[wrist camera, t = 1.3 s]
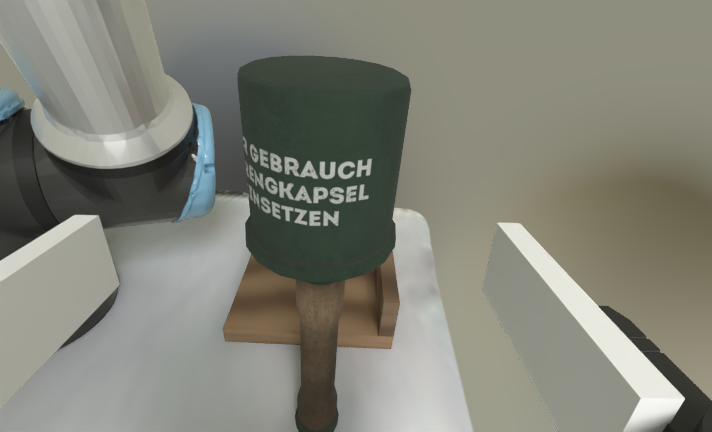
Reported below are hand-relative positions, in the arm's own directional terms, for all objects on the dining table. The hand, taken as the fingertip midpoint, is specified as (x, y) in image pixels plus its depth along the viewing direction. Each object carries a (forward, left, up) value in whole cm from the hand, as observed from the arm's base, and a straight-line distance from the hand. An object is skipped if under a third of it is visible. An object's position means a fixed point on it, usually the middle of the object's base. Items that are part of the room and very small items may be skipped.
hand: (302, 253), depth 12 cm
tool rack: (-18, +19, -25) cm, 36 cm away
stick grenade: (-5, +6, -26) cm, 27 cm away
